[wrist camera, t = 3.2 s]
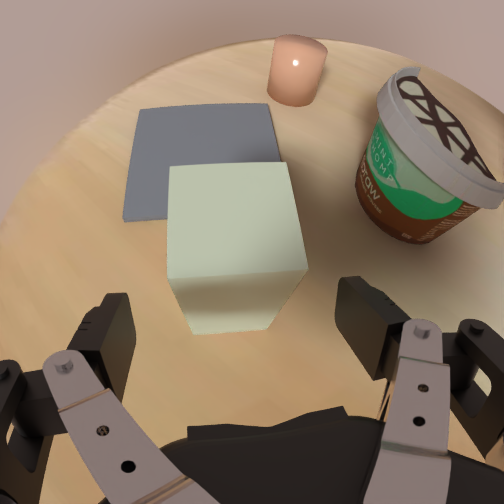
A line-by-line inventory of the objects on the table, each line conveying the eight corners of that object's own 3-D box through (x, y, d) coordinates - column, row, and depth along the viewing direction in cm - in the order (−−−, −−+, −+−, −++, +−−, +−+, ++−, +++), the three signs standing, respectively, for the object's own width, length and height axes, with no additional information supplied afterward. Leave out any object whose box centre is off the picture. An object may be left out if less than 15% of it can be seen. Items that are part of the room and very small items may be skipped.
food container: (318, 149, 26) (353, 54, 17) (374, 144, 27) (416, 63, 18) (380, 277, 21) (464, 202, 12) (436, 258, 23) (515, 191, 14)
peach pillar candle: (307, 81, 31) (319, 37, 25) (319, 108, 29) (334, 60, 23) (263, 78, 30) (270, 32, 25) (270, 105, 28) (280, 55, 23)
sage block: (258, 262, 21) (286, 162, 12) (266, 329, 19) (308, 269, 10) (190, 266, 20) (169, 166, 11) (193, 334, 18) (166, 278, 9)
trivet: (266, 108, 28) (267, 103, 27) (289, 212, 23) (290, 208, 22) (140, 114, 26) (139, 109, 26) (124, 222, 21) (122, 218, 21)
